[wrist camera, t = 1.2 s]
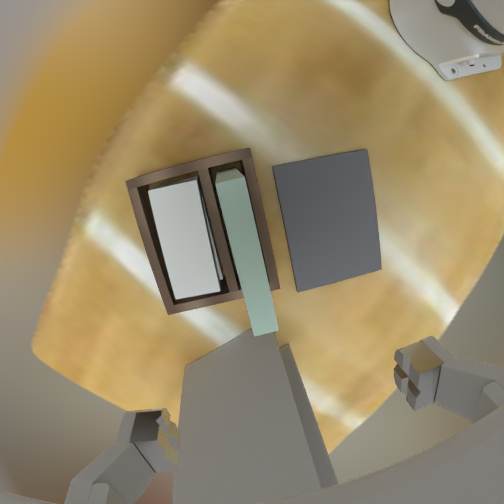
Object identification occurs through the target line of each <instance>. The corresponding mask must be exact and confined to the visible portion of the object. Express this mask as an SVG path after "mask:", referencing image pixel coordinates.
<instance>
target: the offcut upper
mask: <svg viewBox="0 0 504 504" xmlns="http://www.w3.org/2000/svg"><path fill="white" fill-rule="evenodd" d="M148 194H149V198H150V202H151V207H152V211H153V215H154V220H155V224H156V228H157V232H158V236H159V240H160V244H161V248H162V252H163V256H164V259H165V263H166V267H167V271H168V274H169V278H170V282H171V285H172V289H173V292H174V296H175V299H182V298H187V297H192V296H198V295H203V294H208V293H214V292H219V291H220V279H219V274H218V270H217V265H216V261H215V256H214V251H213V247H212V242H211V237H210V233H209V228H208V223H207V218H206V214H205V209H204V204H203V199H202V194H201V189H200V184H199V179H198V178H194V179H190V180H185V181H180V182H176V183H171V184H167V185H162V186H158V187H154V188H152V189H150V190H149V191H148Z"/></svg>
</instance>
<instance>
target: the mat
mask: <svg viewBox="0 0 504 504" xmlns="http://www.w3.org/2000/svg"><path fill="white" fill-rule="evenodd" d="M272 169H273V173H274V178H275V183H276V187H277V192H278V197H279V202H280V207H281V212H282V216H283V221H284V226H285V231H286V236H287V242H288V247H289V252H290V257H291V262H292V268H293V273H294V278H295V284H296V289H297V292H301V291H305V290H309V289H312V288H316V287H320V286H324V285H327V284H331V283H335V282H338V281H342V280H345V279H349V278H353V277H356V276H360V275H363V274H367V273H370V272H374V271H377V270H380V269H382V268H381V254H380V243H379V232H378V222H377V213H376V205H375V197H374V190H373V183H372V176H371V169H370V163H369V157H368V151H367V150H359V151H353V152H347V153H341V154H335V155H330V156H324V157H319V158H314V159H308V160H303V161H298V162H293V163H288V164H283V165H278V166H274V167H272Z"/></svg>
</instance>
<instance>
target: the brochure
mask: <svg viewBox="0 0 504 504" xmlns="http://www.w3.org/2000/svg"><path fill="white" fill-rule="evenodd" d="M178 432H179V436H180V448H179V449H178V450H177V451H176V453H177V454H178V456H179V466H178V471H174V481H173V496H172V504H254V503H260V502H266V501H271V500H276V499H281V498H286V497H290V496H294V495H299V494H303V493H307V492H311V491H315V490H318V489H322V488H325V487H329V486H332V485H336V484H338V481H337V478H336V475H335V472H334V469H333V467H332V464H331V461H330V458H329V455H328V452H327V450H326V447H325V444H324V441H323V438H322V435H321V433H320V430H319V427H318V424H317V421H316V418H315V416H314V413H313V410H312V407H311V404H310V402H309V399H308V396H307V393H306V390H305V388H304V385H303V382H302V379H301V376H300V373H299V371H298V368H297V365H296V362H295V359H294V357H293V354H292V351H291V348H290V345H289V344H287V345H285V346H283V347H281V348H280V349H279V347H278V344H277V340H276V337H275V334H274V332H271V333H267V334H263V335H259V336H255V337H254V334H253V330H252V328H251V329H249V330H248V331H246V332H244V333H243V334H241V335H239V336H238V337H236V338H234V339H232V340H231V341H229V342H227V343H226V344H224V345H222V346H220V347H219V348H217V349H215V350H213V351H212V352H210V353H208V354H206V355H205V356H203V357H201V358H199V359H198V360H196V361H194V362H192V363H190V364H189V365H187V366H185V371H184V379H183V387H182V396H181V405H180V415H179V424H178Z"/></svg>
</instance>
